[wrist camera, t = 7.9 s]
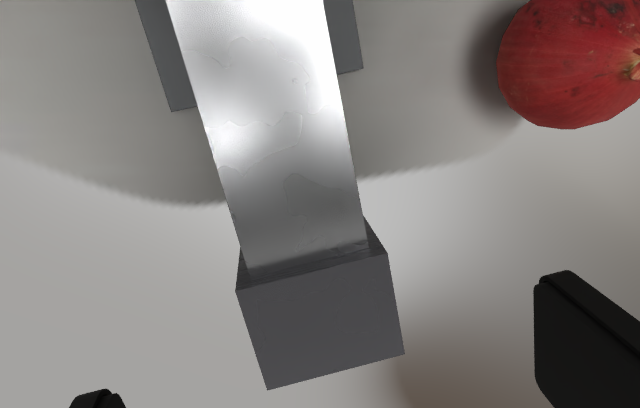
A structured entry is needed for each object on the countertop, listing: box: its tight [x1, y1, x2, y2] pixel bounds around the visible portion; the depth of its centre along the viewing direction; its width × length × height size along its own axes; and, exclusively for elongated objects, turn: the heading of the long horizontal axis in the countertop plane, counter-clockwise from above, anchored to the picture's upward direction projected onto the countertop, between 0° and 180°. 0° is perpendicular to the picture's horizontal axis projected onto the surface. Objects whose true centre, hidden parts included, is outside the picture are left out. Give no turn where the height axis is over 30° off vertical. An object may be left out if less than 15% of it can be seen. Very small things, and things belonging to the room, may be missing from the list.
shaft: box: [166, 0, 405, 390], centre depth 12 cm, size 21×4×5 cm, turn 12°
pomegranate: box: [496, 0, 640, 129], centre depth 17 cm, size 6×6×8 cm
